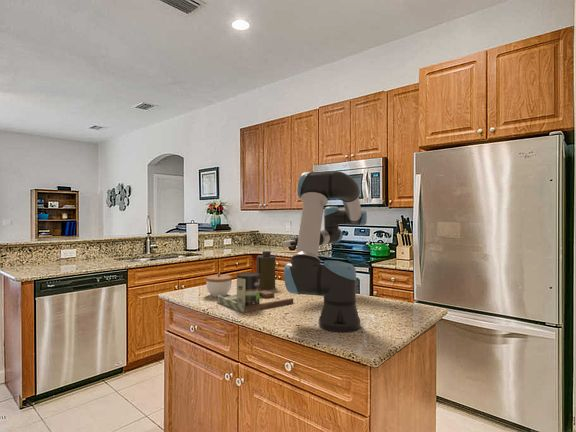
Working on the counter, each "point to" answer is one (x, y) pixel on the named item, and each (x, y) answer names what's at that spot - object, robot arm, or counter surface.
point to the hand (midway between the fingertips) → (284, 244)
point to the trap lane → (232, 303)
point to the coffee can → (248, 288)
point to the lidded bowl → (218, 284)
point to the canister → (266, 270)
